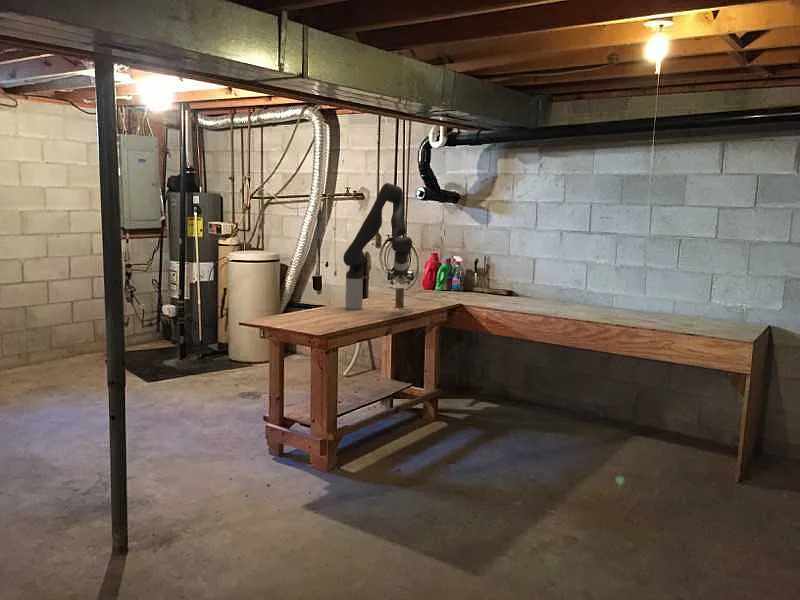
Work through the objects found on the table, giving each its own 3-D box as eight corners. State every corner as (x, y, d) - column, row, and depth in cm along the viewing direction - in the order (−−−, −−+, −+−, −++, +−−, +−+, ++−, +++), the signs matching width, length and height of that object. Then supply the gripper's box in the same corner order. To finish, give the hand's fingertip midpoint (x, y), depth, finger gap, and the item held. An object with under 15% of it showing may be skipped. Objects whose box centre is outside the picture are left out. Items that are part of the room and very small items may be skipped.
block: (395, 307, 378) (395, 288, 377) (395, 306, 383) (395, 287, 381) (403, 308, 378) (403, 288, 377) (403, 306, 383) (403, 287, 381)
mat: (399, 310, 368) (399, 310, 368) (398, 308, 376) (398, 308, 376) (413, 310, 369) (413, 310, 369) (412, 308, 377) (412, 308, 377)
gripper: (414, 259, 357) (413, 278, 370) (387, 259, 357) (387, 278, 369) (414, 270, 352) (413, 289, 365) (387, 270, 352) (387, 289, 365)
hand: (400, 283), depth 367 cm, fingers open, 8 cm apart
